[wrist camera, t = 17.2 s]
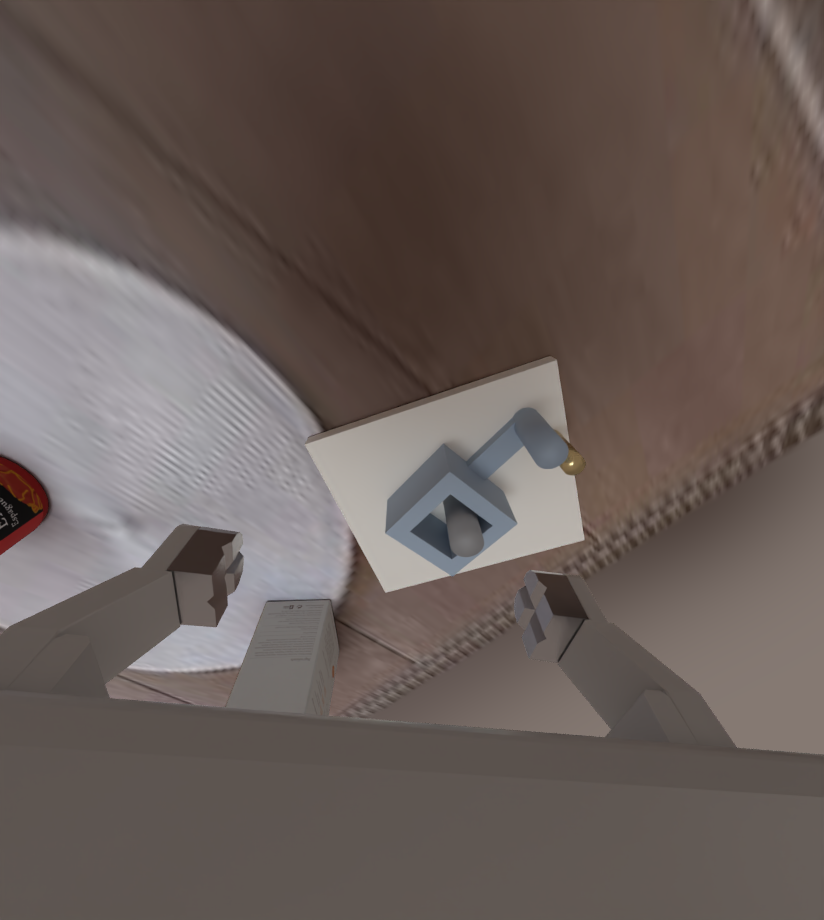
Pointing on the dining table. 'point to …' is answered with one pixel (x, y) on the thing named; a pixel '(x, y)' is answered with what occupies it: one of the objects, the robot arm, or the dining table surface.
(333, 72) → the dining table surface
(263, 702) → the small box
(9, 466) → the canned food
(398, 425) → the post board
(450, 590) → the dining table surface
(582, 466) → the dowel
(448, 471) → the grey socket with handle
